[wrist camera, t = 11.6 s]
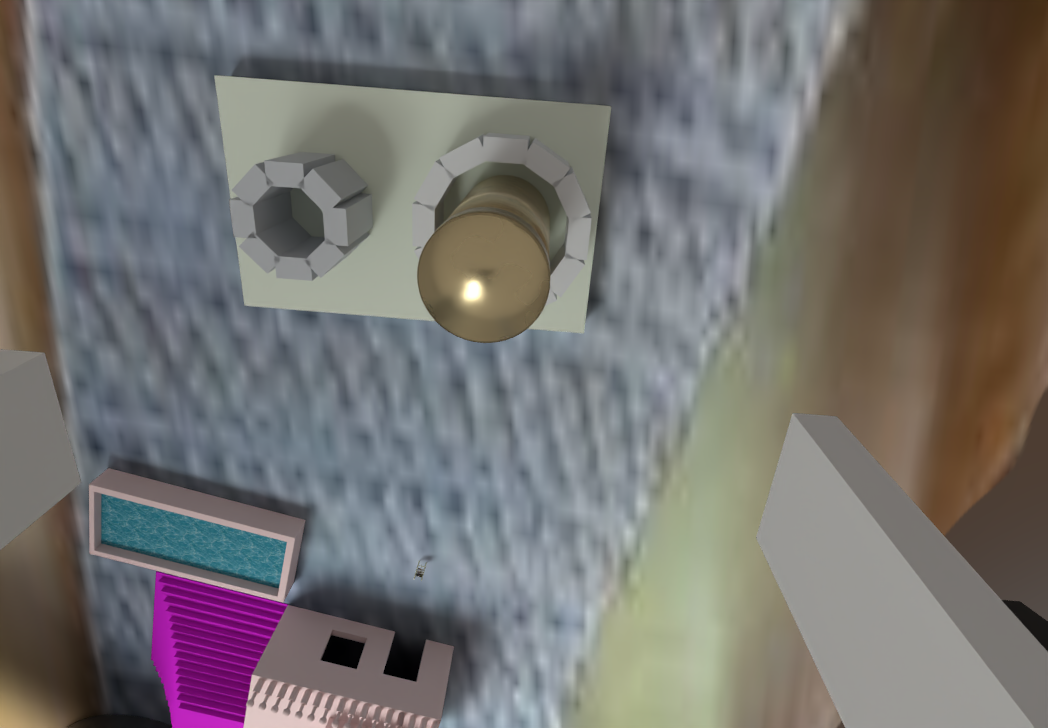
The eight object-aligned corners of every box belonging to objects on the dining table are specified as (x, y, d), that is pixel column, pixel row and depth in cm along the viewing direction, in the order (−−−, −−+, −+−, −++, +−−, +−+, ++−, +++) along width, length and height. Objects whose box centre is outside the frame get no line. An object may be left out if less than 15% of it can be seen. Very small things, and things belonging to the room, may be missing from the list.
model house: (483, 562, 41) (461, 712, 31) (426, 720, 48) (394, 882, 38) (112, 464, 39) (-37, 591, 29) (110, 644, 46) (-11, 795, 36)
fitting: (458, 262, 30) (417, 337, 21) (460, 170, 28) (416, 208, 19) (547, 269, 30) (544, 347, 21) (554, 177, 28) (556, 219, 19)
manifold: (257, 296, 33) (204, 333, 28) (230, 76, 28) (161, 72, 23) (582, 323, 33) (588, 364, 28) (608, 105, 28) (620, 108, 23)
